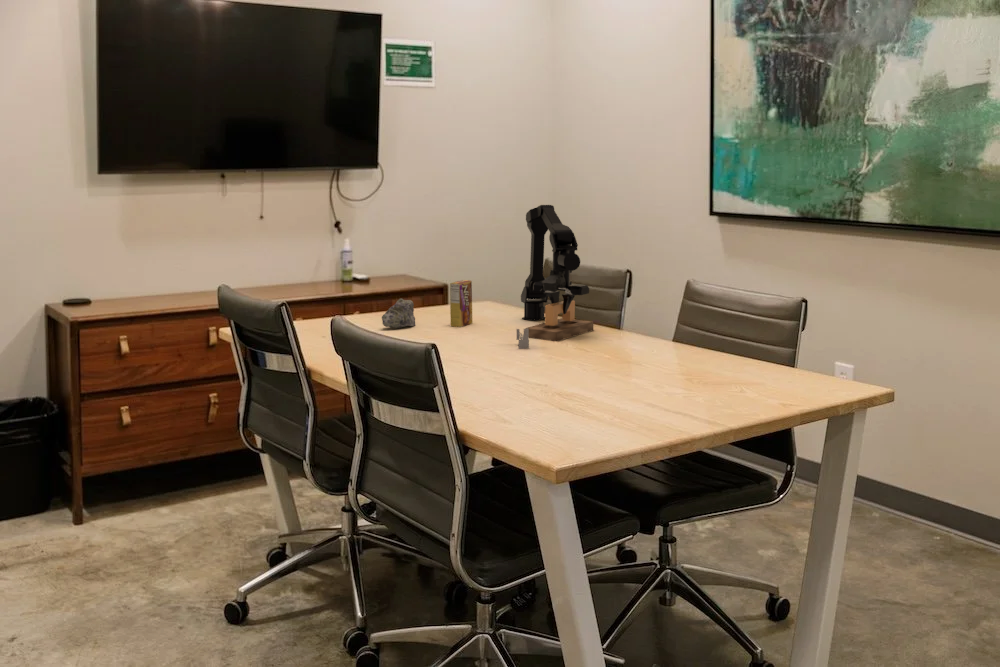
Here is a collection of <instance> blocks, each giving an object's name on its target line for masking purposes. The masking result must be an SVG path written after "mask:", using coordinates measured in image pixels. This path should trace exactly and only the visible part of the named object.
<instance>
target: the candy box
mask: <svg viewBox="0 0 1000 667" xmlns="http://www.w3.org/2000/svg"><path fill="white" fill-rule="evenodd" d="M472 281H473V280H470V279H468V280H466V279H461V280H457V281H454V282H450V283H449V303H450V304H449V306H450V307H449V308H450V310H449V311H450V313H449V314H450V327H453V328H454V327H456V328H462V327H464V326H468V325H471V324H473V290H472V288H473V287H472V286H473V285H472V283H473V282H472Z"/></svg>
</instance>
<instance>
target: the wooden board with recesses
mask: <svg viewBox="0 0 1000 667" xmlns="http://www.w3.org/2000/svg"><path fill="white" fill-rule="evenodd" d="M525 329H529V339H538V340H544V341H545V340H546V341H553V342H559V341H562V340H565V339H569V338H573V337H576V336H579V335H582V334H586V333H589V332H593V331H594V321H591V320H582V319H574V320H572V321H565V320H562V318H558V324H557V325H554V326H551V325H545V322H543V323H539V324H535V325H532V326H527V327H525Z"/></svg>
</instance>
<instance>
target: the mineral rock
mask: <svg viewBox="0 0 1000 667" xmlns="http://www.w3.org/2000/svg"><path fill="white" fill-rule="evenodd" d="M414 307H415V306H414V302H413V301H412V300H411V299H407V300H406V299H403V298H399V299H397V301H396V302H395V303H394V304H393V305H391V307H389V308H388V310H386V311H385V313H383V314H382V316H381V321H382V323H381V324H382V325H383V326H384V327H385V328H390V329H391V328H394V329H401V328H404V327H414V326H416V317H415V315H414V311H415V309H414Z"/></svg>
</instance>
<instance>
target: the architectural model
mask: <svg viewBox="0 0 1000 667" xmlns="http://www.w3.org/2000/svg"><path fill="white" fill-rule="evenodd" d="M516 340H517V341H518V349H519V350H523V349H524V350H525V349H526V350H527V349H529V348H530V338H529V329H526V328H523V333H521V331H520V329H519V328H516Z"/></svg>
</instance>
